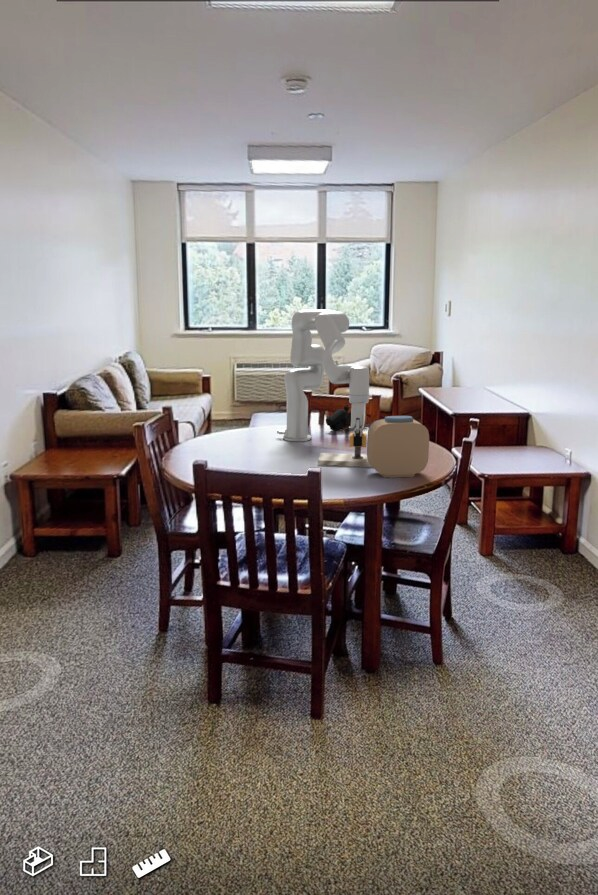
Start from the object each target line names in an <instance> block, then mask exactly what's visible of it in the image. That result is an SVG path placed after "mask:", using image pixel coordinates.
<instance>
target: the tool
mask: <svg viewBox="0 0 598 895" xmlns="http://www.w3.org/2000/svg"><path fill="white" fill-rule="evenodd" d="M351 407H352V405H349V404H347V403H345V404H344V406H343V408H338V409H337V410H335V411H334V412H333V413H332V415H330V416H328V417H327V418H326V419H325V424H326V425H327V426H328V427H329V429H330V430H332V431H335V432H339V431H342V430H344V429H345V430H346V429H347V428H351ZM366 423H367V414H366V412H365V422H364V425H366ZM345 430H344V431H345Z"/></svg>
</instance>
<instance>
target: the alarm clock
mask: <svg viewBox="0 0 598 895" xmlns="http://www.w3.org/2000/svg"><path fill="white" fill-rule="evenodd" d="M429 453H430V434H429V429H428V428H427V427H426V425H424V424H422V423H420V422H419V421H417V420H416V419H414V417H413V416H411V415H390V416H389V415H388V416H385V417H384V418H381V419H378V420H376V419H375V420H374V421H373V422H371V424H370V425H369V427H368V429H367V444H366V454H367V459H368V462H369V463H370V465H371V466H372V467H371V468H373V469H374V470H375V471H376V473H378V474H380V475H381V476H382V478H384V477H390V478H411V477H415V476H416V474H419V473H421V472H422V471H424V470H425V469H426V468H427V465H428V463H429V456H430V455H429Z"/></svg>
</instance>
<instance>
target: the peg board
mask: <svg viewBox="0 0 598 895" xmlns="http://www.w3.org/2000/svg"><path fill="white" fill-rule="evenodd" d="M361 451H362V447H354V453H339V452H338V453H337V452H336V453H335V452H333V453H331V452H320V454H319V457H318V459H317V465H318V464H319V465H318V466H325V465H339V466H338V467H353V466H357V467H358V466H360V467H358V468H373V467H372V466H371V465H370V463H369V462H368V459H367V453H364V454H363V453H362V452H361Z"/></svg>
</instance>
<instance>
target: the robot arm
mask: <svg viewBox="0 0 598 895" xmlns="http://www.w3.org/2000/svg"><path fill="white" fill-rule="evenodd" d="M349 328H350V321H349V317H348V316H347V314H346V313H345V312H343V311H338V310H333V309H301V310H297V311H295V312H294V313H293V315H292V318H291V329H292V340H291V348H290V355H289V356H290V364H291V365H292V366H293V367H298V368H293V369H290V370H287V371H286V372H285V374H284V377H283V378H284V380H283V381H284V386H285V396H286V428H284V429H276V430H277V431H276V434H279V435H283V440H284V441H287V442H296V443H297V442H300V443H301V442H307V441H310V440H312V435H310V434H308V433H309V432H308V431H309V430H308V428H309V426H308V424H309V422H308V421H309V415H308V414H309V413H308V412H309V400H308V397H307V395H306V394H305V392H304V391H306V390H308V391H309V390H316V389H319V388H320V387H321V386H322V384H323V380H324V374H325V376H326V378H327V380H328V381H329V382H330V383H331V384H333V385H343V384H348V385H349V386H348V387H349V388H348V389H349V390H348V394H349V395H348V397H349V398H348V399H349V400H348V403H350V404H351V406H352V407H351V427H350V429H352V430H353V429H354V432H353V433H354V446H357V447H361V446H362V436H361V433H364V432H363V429H364V426H365V424H364V422H365V413H366V405H367V404H369V401H370V368H369V367H368V366H365V365H360V364H358V363H343V364H336V363H335V361H334V359H333V355H335V354H336V353H338V352H340V351H342V349H343V348H344V347H345V344H346V340H345V337H344V336H343V333H345V332H347V331H348V330H349ZM311 331H317V334H318V335H319V338H320V340H321V342H322V344H323V345H321V344H312V343H313V334H312V332H311ZM308 367H309V368H308ZM361 448H362V447H361Z"/></svg>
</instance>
